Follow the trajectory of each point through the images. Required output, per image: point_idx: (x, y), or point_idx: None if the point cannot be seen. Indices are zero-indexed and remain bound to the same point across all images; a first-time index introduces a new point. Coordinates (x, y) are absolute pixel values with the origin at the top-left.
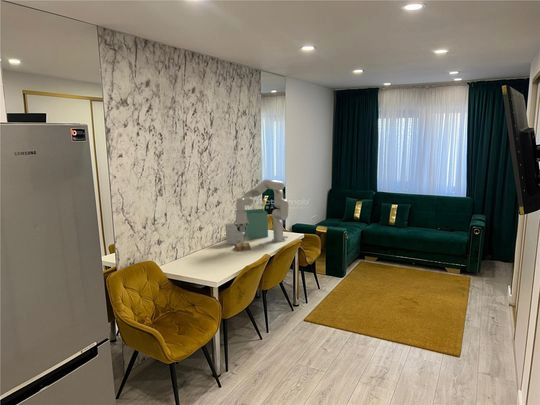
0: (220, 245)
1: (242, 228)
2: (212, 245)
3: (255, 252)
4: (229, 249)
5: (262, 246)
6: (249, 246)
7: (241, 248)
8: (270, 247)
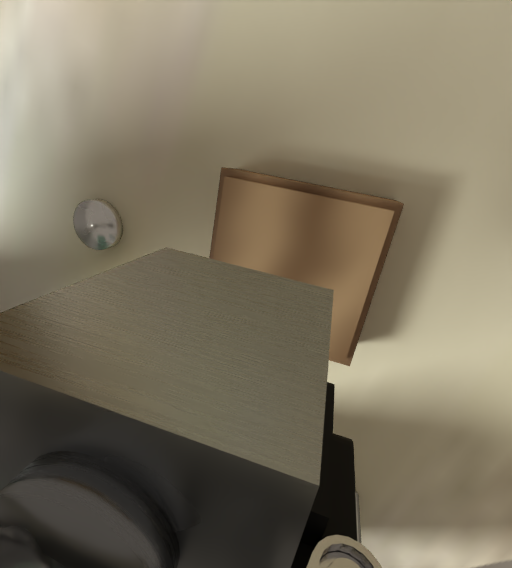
0: (433, 503)
1: (190, 313)
2: (505, 554)
3: (221, 14)
4: (435, 327)
5: (86, 201)
6: (228, 168)
7: (339, 190)
8: (26, 138)
